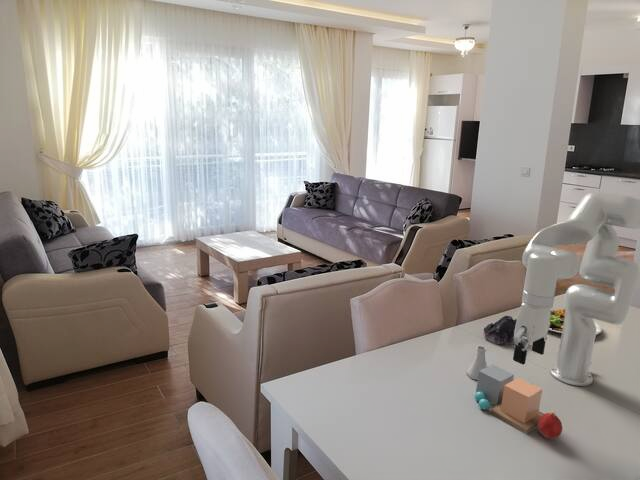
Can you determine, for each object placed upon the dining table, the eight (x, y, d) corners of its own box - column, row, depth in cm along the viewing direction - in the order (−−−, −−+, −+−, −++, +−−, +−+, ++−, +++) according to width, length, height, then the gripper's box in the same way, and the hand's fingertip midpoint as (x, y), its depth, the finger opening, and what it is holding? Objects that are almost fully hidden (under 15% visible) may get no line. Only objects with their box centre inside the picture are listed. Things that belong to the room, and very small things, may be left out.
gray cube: (489, 387, 149) (492, 364, 147) (510, 398, 143) (514, 374, 141) (475, 394, 144) (478, 370, 142) (496, 406, 139) (500, 381, 137)
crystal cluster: (476, 340, 184) (480, 317, 180) (489, 326, 194) (493, 305, 190) (511, 353, 176) (516, 330, 172) (522, 339, 186) (527, 316, 182)
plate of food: (514, 323, 200) (516, 309, 198) (543, 308, 218) (545, 295, 217) (585, 347, 180) (588, 333, 178) (610, 329, 198) (613, 315, 197)
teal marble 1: (475, 388, 141) (471, 396, 142) (481, 393, 139) (476, 402, 139) (483, 391, 142) (479, 399, 143) (489, 396, 139) (484, 405, 140)
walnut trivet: (511, 400, 142) (511, 397, 142) (547, 419, 134) (547, 415, 133) (490, 413, 135) (490, 409, 135) (526, 433, 127) (527, 429, 127)
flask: (490, 383, 152) (494, 354, 149) (467, 379, 153) (471, 351, 150) (487, 371, 158) (491, 344, 156) (465, 368, 160) (468, 341, 157)
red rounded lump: (531, 431, 128) (536, 405, 126) (551, 431, 129) (556, 404, 127) (543, 445, 122) (548, 418, 120) (564, 445, 123) (569, 418, 121)
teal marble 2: (482, 396, 139) (478, 405, 139) (480, 397, 136) (475, 406, 137) (492, 401, 137) (488, 411, 137) (489, 403, 135) (485, 412, 135)
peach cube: (537, 414, 134) (542, 389, 132) (524, 423, 129) (528, 397, 127) (514, 402, 139) (518, 377, 137) (500, 410, 135) (504, 385, 133)
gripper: (540, 288, 134) (531, 344, 138) (506, 300, 124) (498, 360, 128) (567, 296, 128) (557, 354, 133) (534, 310, 118) (524, 372, 122)
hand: (528, 357), depth 130 cm, fingers open, 9 cm apart
